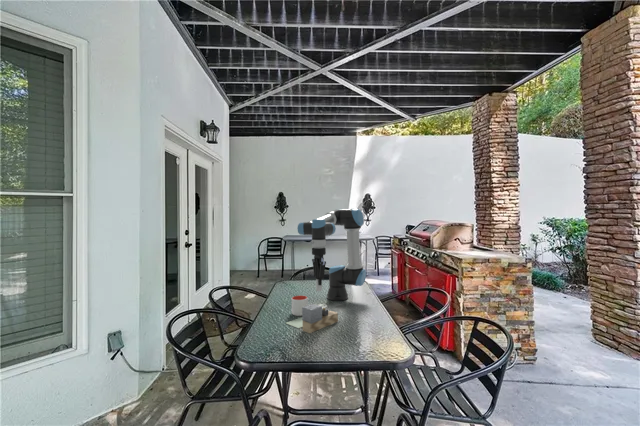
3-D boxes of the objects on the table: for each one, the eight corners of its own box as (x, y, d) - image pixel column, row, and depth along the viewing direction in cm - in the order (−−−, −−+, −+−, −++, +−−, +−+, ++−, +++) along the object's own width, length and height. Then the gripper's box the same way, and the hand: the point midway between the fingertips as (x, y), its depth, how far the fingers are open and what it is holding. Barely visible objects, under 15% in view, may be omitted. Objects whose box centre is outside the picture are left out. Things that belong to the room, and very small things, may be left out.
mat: (301, 317, 173) (301, 317, 173) (314, 322, 165) (314, 321, 165) (285, 323, 164) (285, 322, 164) (298, 328, 157) (298, 328, 157)
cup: (305, 317, 174) (305, 300, 174) (289, 316, 176) (289, 299, 176) (309, 311, 184) (309, 295, 184) (294, 310, 186) (294, 295, 186)
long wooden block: (330, 319, 170) (330, 310, 170) (337, 321, 166) (337, 312, 166) (302, 330, 154) (302, 321, 154) (309, 333, 150) (309, 323, 151)
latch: (324, 313, 164) (323, 306, 164) (328, 315, 162) (328, 308, 162) (320, 315, 162) (320, 308, 162) (324, 316, 160) (324, 309, 160)
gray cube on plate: (313, 316, 161) (312, 303, 161) (322, 319, 156) (322, 306, 156) (302, 320, 155) (302, 307, 155) (311, 323, 150) (311, 310, 150)
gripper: (307, 246, 164) (307, 289, 163) (317, 248, 152) (317, 294, 152) (319, 246, 167) (319, 287, 167) (330, 248, 155) (330, 292, 155)
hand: (318, 290), depth 159 cm, fingers closed
